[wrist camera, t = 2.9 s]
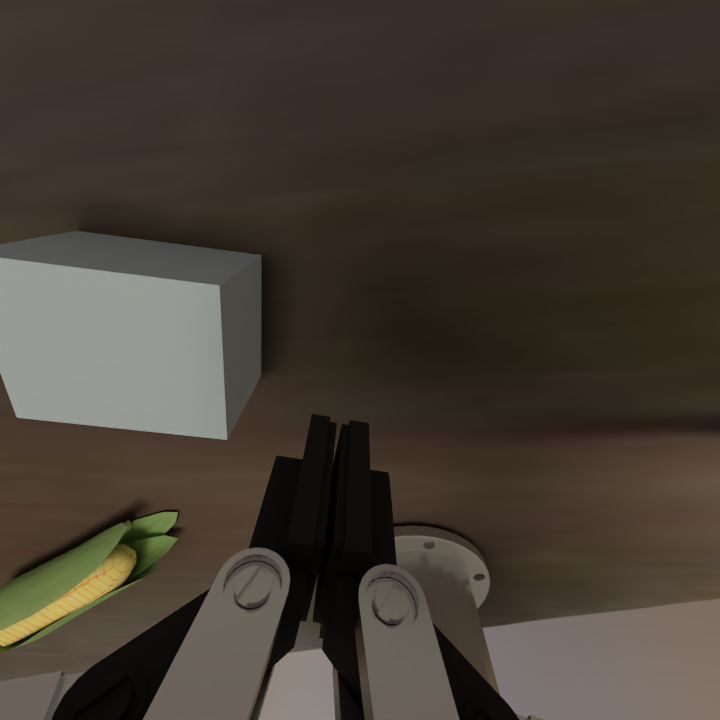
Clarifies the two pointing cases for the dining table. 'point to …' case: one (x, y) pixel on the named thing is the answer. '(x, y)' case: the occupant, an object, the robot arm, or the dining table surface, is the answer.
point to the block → (129, 333)
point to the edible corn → (81, 578)
